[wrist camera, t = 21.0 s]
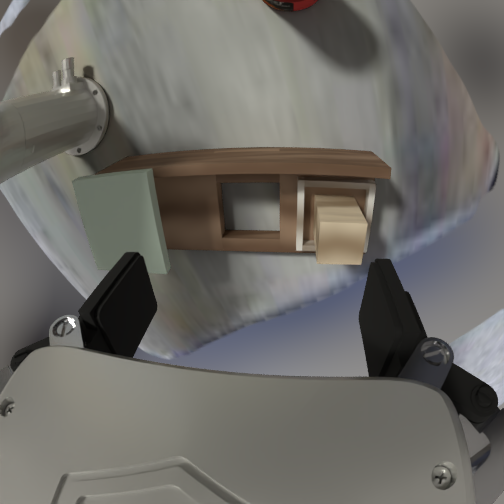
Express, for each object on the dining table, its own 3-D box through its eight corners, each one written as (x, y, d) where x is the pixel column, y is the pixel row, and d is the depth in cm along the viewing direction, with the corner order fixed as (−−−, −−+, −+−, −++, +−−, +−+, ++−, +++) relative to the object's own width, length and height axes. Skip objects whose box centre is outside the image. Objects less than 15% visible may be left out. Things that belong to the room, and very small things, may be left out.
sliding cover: (79, 177, 32) (72, 181, 30) (152, 168, 30) (146, 172, 29) (103, 263, 38) (97, 269, 37) (170, 267, 37) (166, 274, 36)
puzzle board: (126, 157, 38) (94, 174, 31) (371, 151, 34) (391, 168, 27) (143, 240, 46) (119, 269, 39) (361, 245, 41) (373, 278, 34)
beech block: (314, 194, 36) (320, 221, 29) (353, 196, 35) (367, 223, 28) (313, 230, 38) (317, 263, 32) (349, 231, 38) (361, 264, 31)
